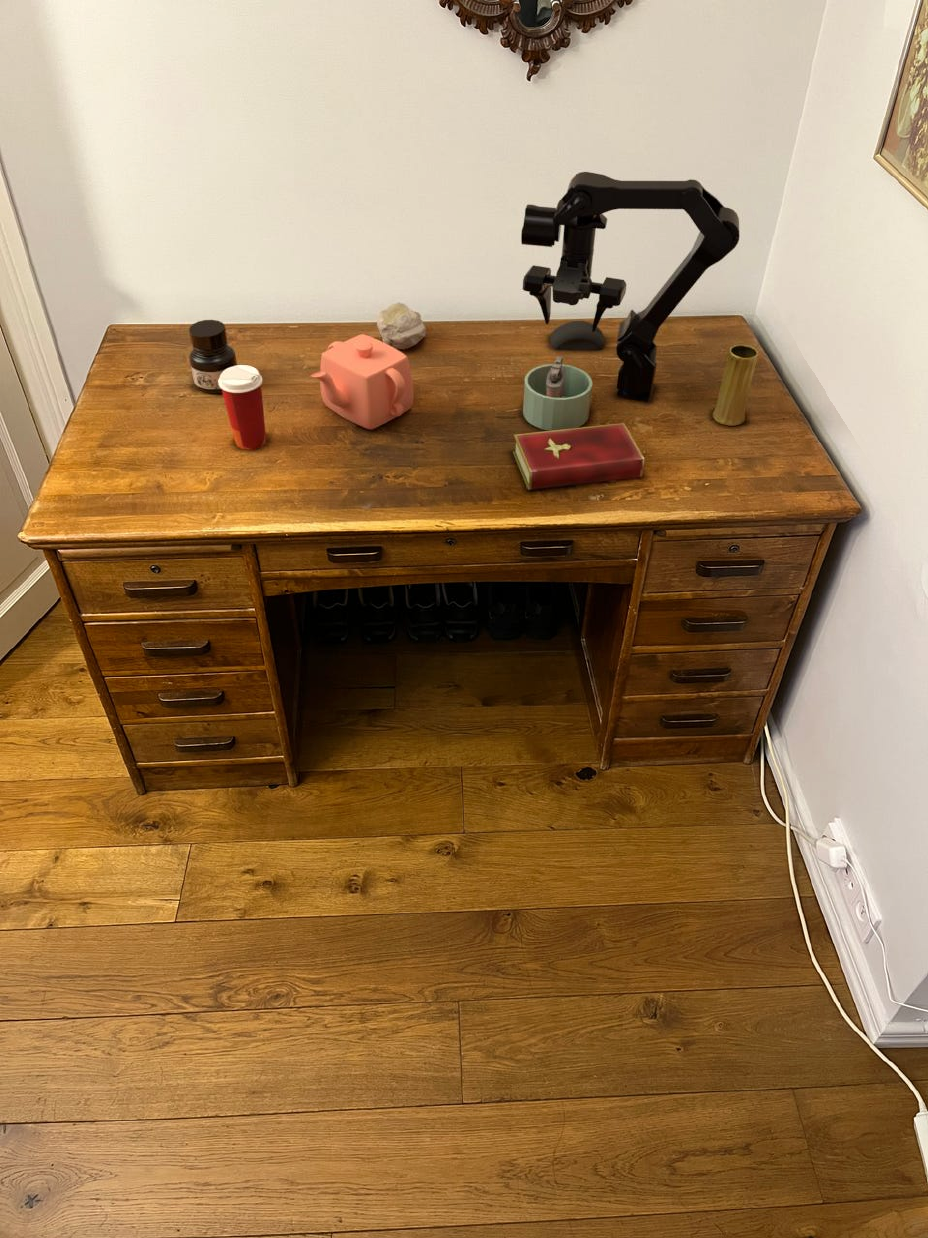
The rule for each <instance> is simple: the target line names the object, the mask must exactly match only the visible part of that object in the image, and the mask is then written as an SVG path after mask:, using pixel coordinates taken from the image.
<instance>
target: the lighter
mask: <svg viewBox="0 0 928 1238" xmlns="http://www.w3.org/2000/svg"><path fill="white" fill-rule="evenodd" d="M563 360H564V357H562V356H557V357H556V359H555V361H554V363H552V364H553V366H552V368H551V370H550V371H549V373H548V375H547V381H546V387H547V394H546V396H548V397H554V398H563V393H564V389H565V378H566V368H565V367H564V366H562V364H563V362H564V361H563Z"/></svg>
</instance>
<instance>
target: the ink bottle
mask: <svg viewBox="0 0 928 1238" xmlns="http://www.w3.org/2000/svg"><path fill="white" fill-rule="evenodd" d="M226 330H227V329H226V325H225V324H224V322H222V321H219V320H215V319H203V320H199V321H196V322H194V323H192V324H191V325H190V327H189V330H188V332H189V336H190V342H191V346H192V348H193V349H191V351H190V353H189V355H188V356H189V357H188V358H189V359H188V360H189V364H190V369H191V374H192V380H193V383H194V386H195V388H197V389H198V390H199V391H201V392H204V393H207V394H208V393H209V394H221V393H222V394H223V392H222V389H221V388H220V386H219V382H218V380H219V378H220V375H221V374H222V372H223V371H224V370H226V369H227V368H230V367H233V366H237V365H238V362H237V356H236V355H237V354H236V350H234V348H233V347H232V346H231V345H230V344H228V341H229V340H228V337H227V331H226Z"/></svg>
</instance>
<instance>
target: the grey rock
mask: <svg viewBox="0 0 928 1238" xmlns="http://www.w3.org/2000/svg"><path fill="white" fill-rule="evenodd" d="M376 315H377V321H376V327H377V329H378V331H379V332H378V333H379V335H380V336H381V338H382V342H383V343H386V344H388V345H389V346H391V347H393V348H395V349H397V350H407V349H409V348H411V347H413V346H415V345H417V344H418V343H419V342H420V341H422V340H423V338H425V337H426V331H427V327H426V326H425V324H424V322H423V320H422V316H421V314H420V312H418V311H415V310H413V309H411V308H410V307H409V306H408V305H407V304H405V303H404V302H400V301H397V302H396V303H393V304H391V305H390V306H388V307H387V308H385V309H384V310H381V311H380V312H378V313H377V314H376Z"/></svg>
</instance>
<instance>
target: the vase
mask: <svg viewBox="0 0 928 1238" xmlns="http://www.w3.org/2000/svg"><path fill="white" fill-rule="evenodd" d="M758 357H759V351H758V349H757V348H756V347H754V346H751V345H749V344H735V345H732V346H730V348H729V351H728V354H727V359H726V363H725V367H724V371H723V376H722V379H721V384H720V388H719V393H718V397H717V401H716V403H715V408H714V410H713V412H712V417H713V419H714V421H716V422H717V423H718V424H721V425H723V426H729V427H735V426H739V425H741V424H743V423H744V422H745V420H746V410H747V405H748V401H749V397H750V391H751V387H752V381H753V377H754V374H755V370H756V366H757V362H758Z"/></svg>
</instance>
